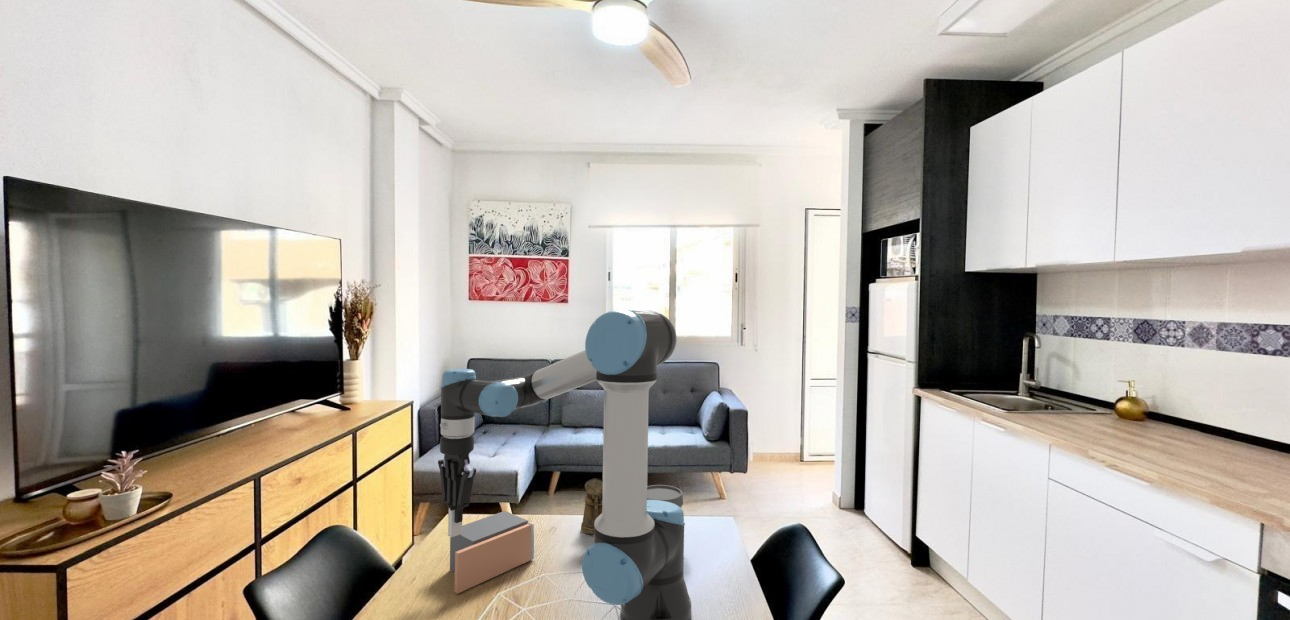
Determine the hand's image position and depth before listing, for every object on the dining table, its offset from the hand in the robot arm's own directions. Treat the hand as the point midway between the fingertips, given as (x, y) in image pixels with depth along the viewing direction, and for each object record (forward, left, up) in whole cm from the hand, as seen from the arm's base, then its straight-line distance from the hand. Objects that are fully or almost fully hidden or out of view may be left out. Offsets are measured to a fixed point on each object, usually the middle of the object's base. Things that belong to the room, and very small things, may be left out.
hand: (455, 534), depth 120 cm
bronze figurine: (-6, -42, -12) cm, 44 cm away
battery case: (+1, -11, -12) cm, 16 cm away
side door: (-5, -9, -11) cm, 15 cm away
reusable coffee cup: (-26, -47, -12) cm, 54 cm away
